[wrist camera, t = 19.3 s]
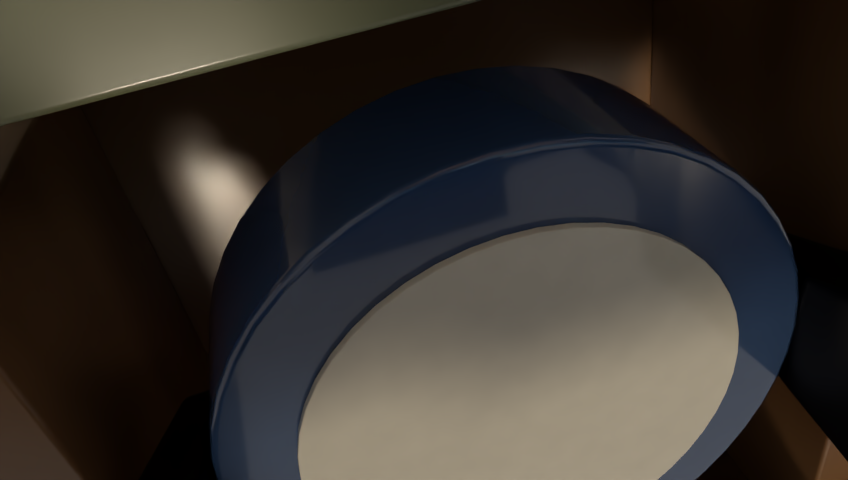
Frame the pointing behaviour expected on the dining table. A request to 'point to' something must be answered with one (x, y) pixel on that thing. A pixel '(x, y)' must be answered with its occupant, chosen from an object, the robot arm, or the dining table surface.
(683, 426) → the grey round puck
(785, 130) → the drawer
